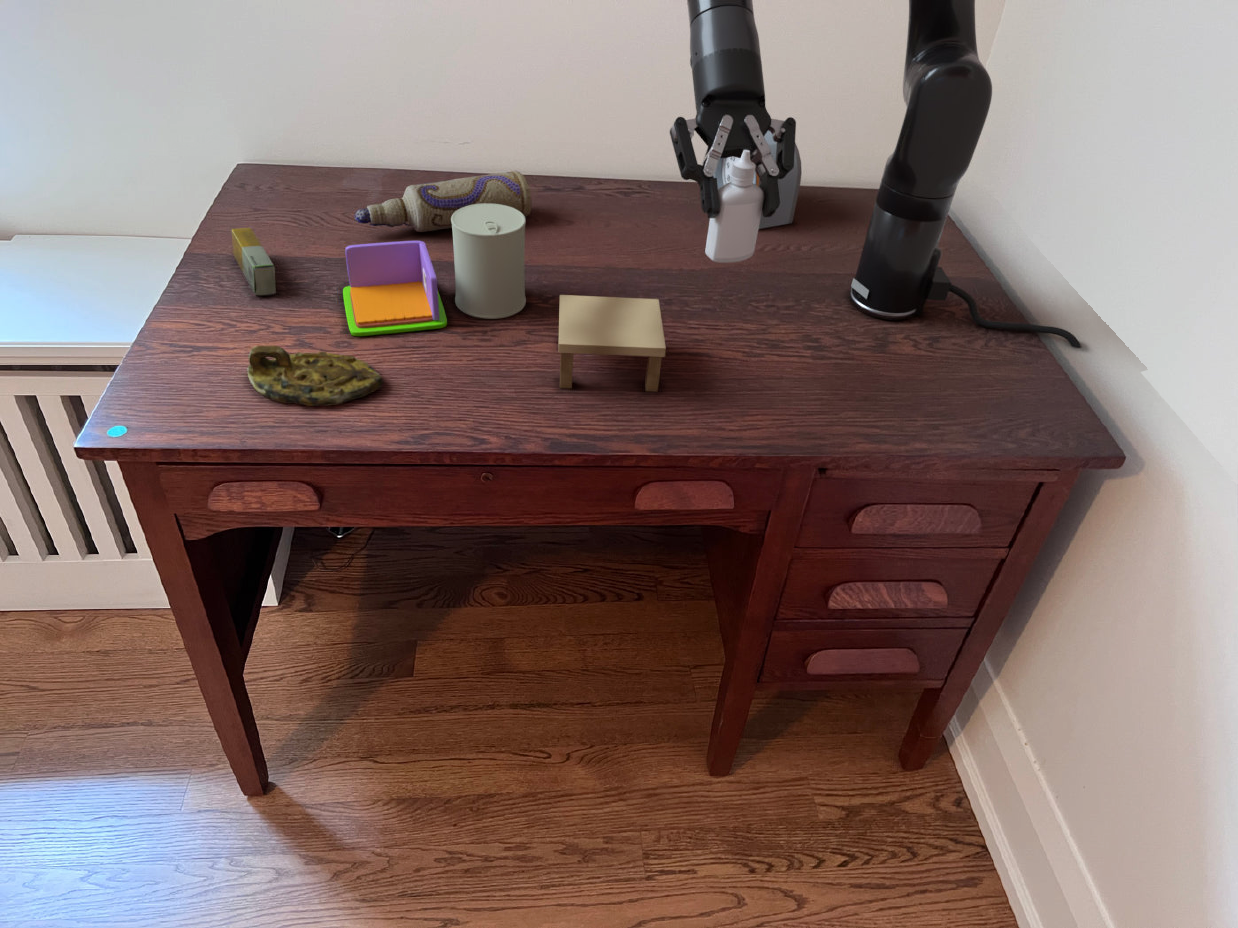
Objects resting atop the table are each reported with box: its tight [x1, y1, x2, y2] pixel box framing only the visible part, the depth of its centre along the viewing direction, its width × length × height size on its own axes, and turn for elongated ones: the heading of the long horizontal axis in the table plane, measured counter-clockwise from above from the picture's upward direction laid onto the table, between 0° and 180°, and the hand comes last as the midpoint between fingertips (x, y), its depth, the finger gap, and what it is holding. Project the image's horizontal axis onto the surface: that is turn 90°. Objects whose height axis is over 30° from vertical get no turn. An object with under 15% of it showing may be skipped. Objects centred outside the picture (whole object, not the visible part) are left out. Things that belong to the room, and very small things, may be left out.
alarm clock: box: [714, 131, 803, 230], centre depth 141 cm, size 15×8×14 cm, turn 28°
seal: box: [246, 345, 384, 407], centre depth 98 cm, size 9×5×15 cm
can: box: [451, 203, 527, 320], centre depth 112 cm, size 9×9×12 cm
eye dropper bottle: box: [704, 150, 764, 264], centre depth 96 cm, size 4×6×12 cm
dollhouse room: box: [342, 240, 448, 337], centre depth 111 cm, size 12×12×7 cm
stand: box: [557, 294, 667, 393], centre depth 105 cm, size 12×11×6 cm
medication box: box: [230, 227, 277, 297], centre depth 115 cm, size 12×3×4 cm, turn 31°
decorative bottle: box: [354, 170, 533, 233], centre depth 130 cm, size 26×8×7 cm, turn 116°
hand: (742, 214), depth 95 cm, fingers closed on eye dropper bottle, 5 cm apart
